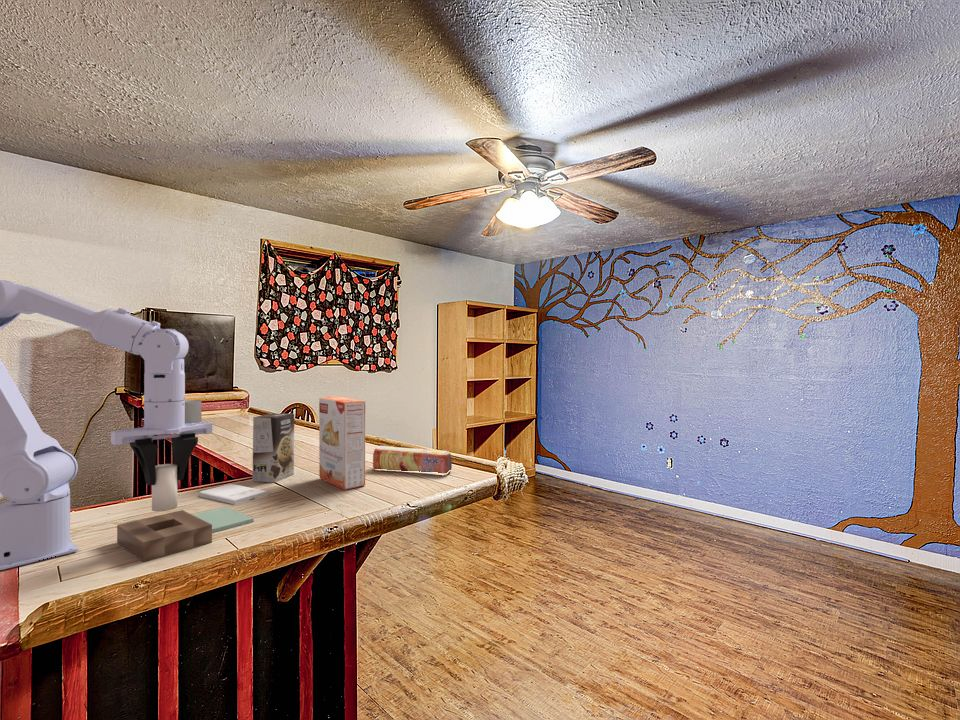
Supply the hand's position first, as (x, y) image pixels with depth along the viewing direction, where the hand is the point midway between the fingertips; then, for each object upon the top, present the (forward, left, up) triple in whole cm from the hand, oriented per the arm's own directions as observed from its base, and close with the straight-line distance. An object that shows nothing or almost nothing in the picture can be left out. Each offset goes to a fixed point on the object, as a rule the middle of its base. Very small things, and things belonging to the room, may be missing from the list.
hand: (164, 481), depth 82 cm
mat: (+10, +4, -10) cm, 15 cm away
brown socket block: (0, 0, -10) cm, 10 cm away
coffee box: (+34, +26, -10) cm, 44 cm away
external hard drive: (+20, +18, -11) cm, 29 cm away
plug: (0, 0, -4) cm, 4 cm away
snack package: (+61, +4, -11) cm, 62 cm away
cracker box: (+42, +9, -10) cm, 44 cm away
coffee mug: (+57, +141, -10) cm, 152 cm away
